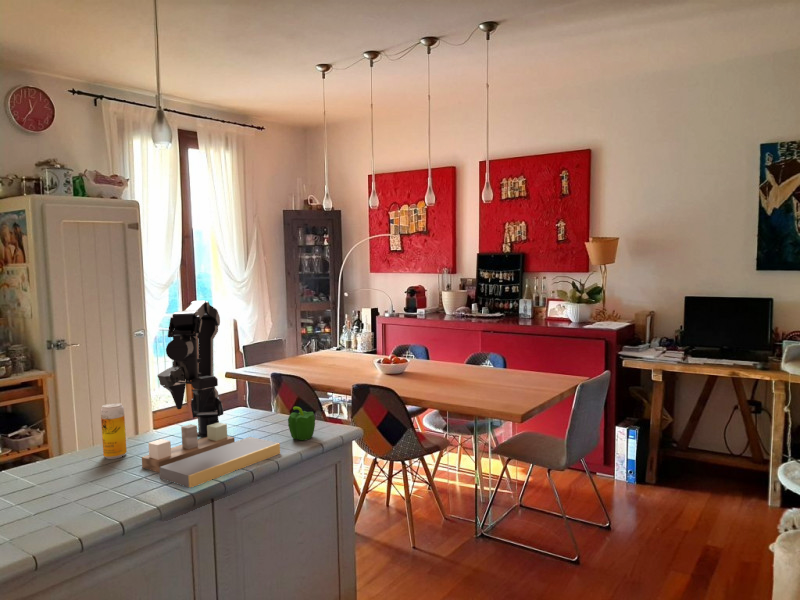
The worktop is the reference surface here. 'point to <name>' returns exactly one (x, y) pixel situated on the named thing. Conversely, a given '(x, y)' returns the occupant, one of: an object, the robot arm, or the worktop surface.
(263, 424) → the worktop surface
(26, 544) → the worktop surface
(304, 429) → the bell pepper
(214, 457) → the dock
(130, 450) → the worktop surface
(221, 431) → the pale olive cube
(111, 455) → the beer can
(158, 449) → the block
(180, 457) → the pallet
